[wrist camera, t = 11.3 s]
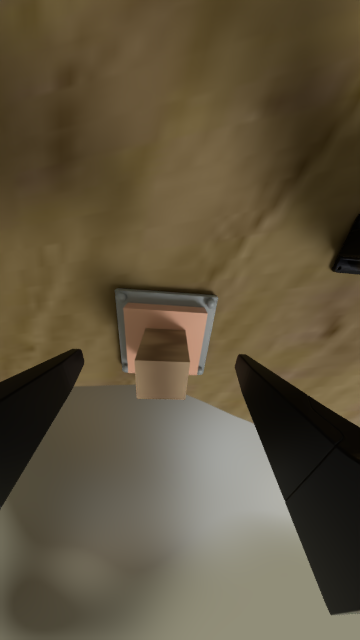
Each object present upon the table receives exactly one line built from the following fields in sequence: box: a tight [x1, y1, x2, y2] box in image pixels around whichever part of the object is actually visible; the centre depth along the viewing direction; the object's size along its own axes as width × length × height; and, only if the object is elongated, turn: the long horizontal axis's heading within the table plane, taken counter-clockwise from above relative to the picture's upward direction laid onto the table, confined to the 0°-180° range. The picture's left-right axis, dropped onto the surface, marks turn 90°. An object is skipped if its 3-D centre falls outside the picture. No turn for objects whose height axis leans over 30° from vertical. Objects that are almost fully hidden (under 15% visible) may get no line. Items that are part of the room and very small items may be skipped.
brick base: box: [115, 288, 218, 375], centre depth 22 cm, size 13×13×3 cm
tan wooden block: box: [135, 328, 190, 400], centre depth 18 cm, size 5×5×6 cm
